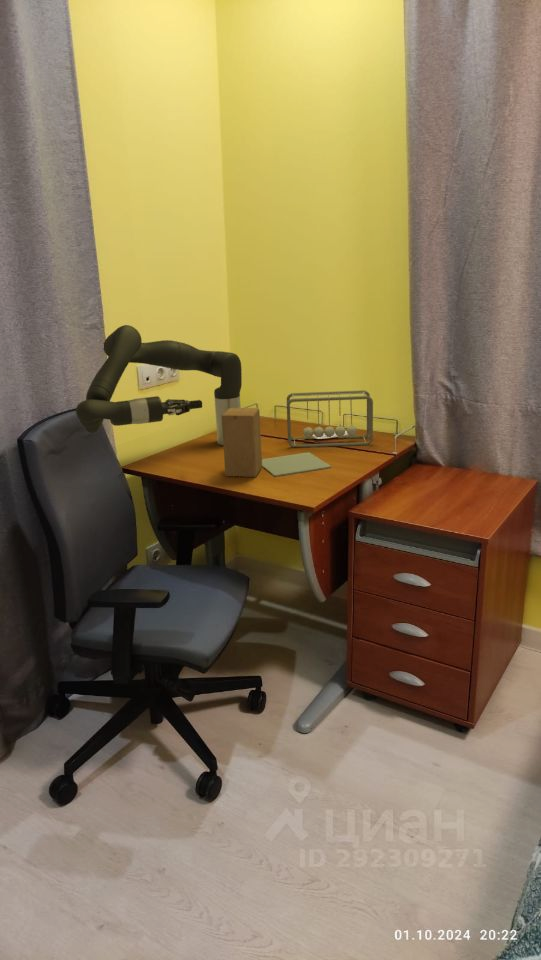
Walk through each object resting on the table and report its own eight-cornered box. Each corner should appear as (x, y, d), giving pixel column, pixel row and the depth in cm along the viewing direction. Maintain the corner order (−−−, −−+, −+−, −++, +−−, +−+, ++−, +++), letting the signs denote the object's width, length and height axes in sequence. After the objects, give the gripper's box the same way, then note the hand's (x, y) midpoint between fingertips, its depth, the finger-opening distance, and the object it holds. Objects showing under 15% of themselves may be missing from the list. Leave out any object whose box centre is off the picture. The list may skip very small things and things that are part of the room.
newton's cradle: (369, 437, 261) (369, 389, 255) (373, 445, 251) (373, 395, 245) (288, 440, 262) (286, 393, 256) (288, 448, 252) (286, 399, 246)
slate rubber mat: (255, 461, 238) (255, 460, 238) (309, 453, 244) (309, 452, 244) (274, 476, 222) (274, 475, 222) (331, 467, 228) (331, 466, 228)
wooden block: (256, 477, 222) (252, 415, 215) (225, 476, 224) (220, 415, 217) (262, 467, 231) (259, 407, 225) (232, 467, 233) (229, 407, 227)
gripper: (148, 402, 203) (206, 395, 209) (139, 394, 215) (195, 387, 221) (150, 427, 206) (208, 420, 211) (142, 418, 218) (196, 411, 223)
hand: (201, 403), depth 216 cm, fingers closed
